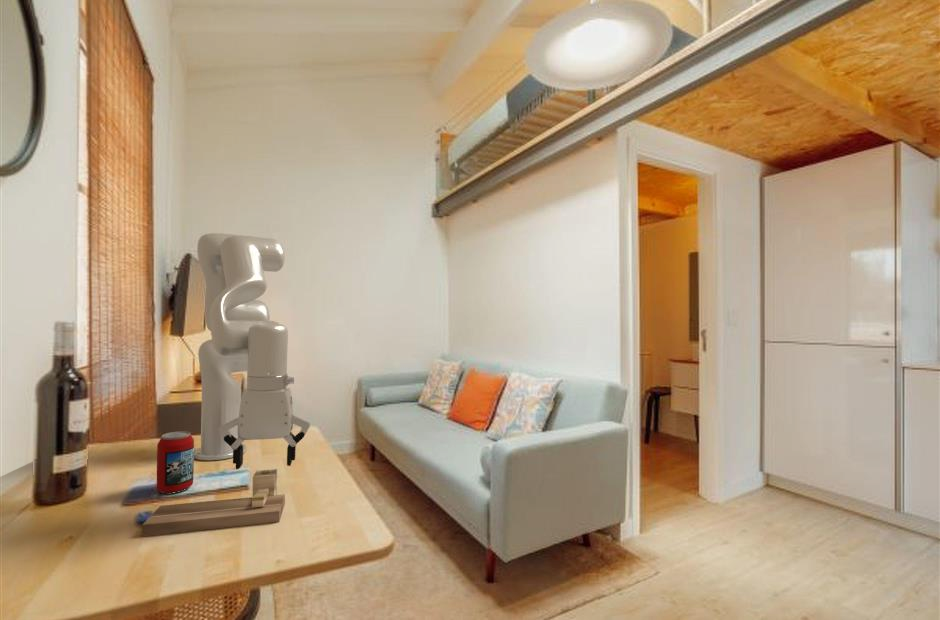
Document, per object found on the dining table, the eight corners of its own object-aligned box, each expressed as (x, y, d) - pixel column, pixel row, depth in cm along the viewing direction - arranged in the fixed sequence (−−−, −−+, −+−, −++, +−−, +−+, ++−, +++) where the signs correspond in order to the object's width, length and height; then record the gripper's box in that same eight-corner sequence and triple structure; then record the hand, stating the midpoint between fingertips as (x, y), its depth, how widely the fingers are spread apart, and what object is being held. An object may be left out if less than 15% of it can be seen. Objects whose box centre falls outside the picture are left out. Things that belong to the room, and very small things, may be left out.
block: (256, 499, 93) (256, 468, 93) (276, 497, 94) (277, 467, 95) (245, 520, 84) (246, 486, 84) (269, 518, 85) (269, 484, 85)
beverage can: (175, 496, 94) (176, 439, 94) (148, 494, 95) (149, 437, 95) (200, 485, 101) (201, 431, 101) (175, 482, 102) (176, 429, 102)
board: (160, 516, 85) (160, 505, 85) (284, 504, 91) (284, 494, 91) (142, 536, 77) (142, 524, 77) (279, 521, 83) (279, 510, 83)
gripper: (312, 379, 99) (310, 456, 99) (225, 380, 94) (223, 461, 94) (309, 385, 91) (307, 469, 92) (215, 387, 87) (213, 475, 87)
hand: (264, 465), depth 93 cm, fingers open, 9 cm apart
